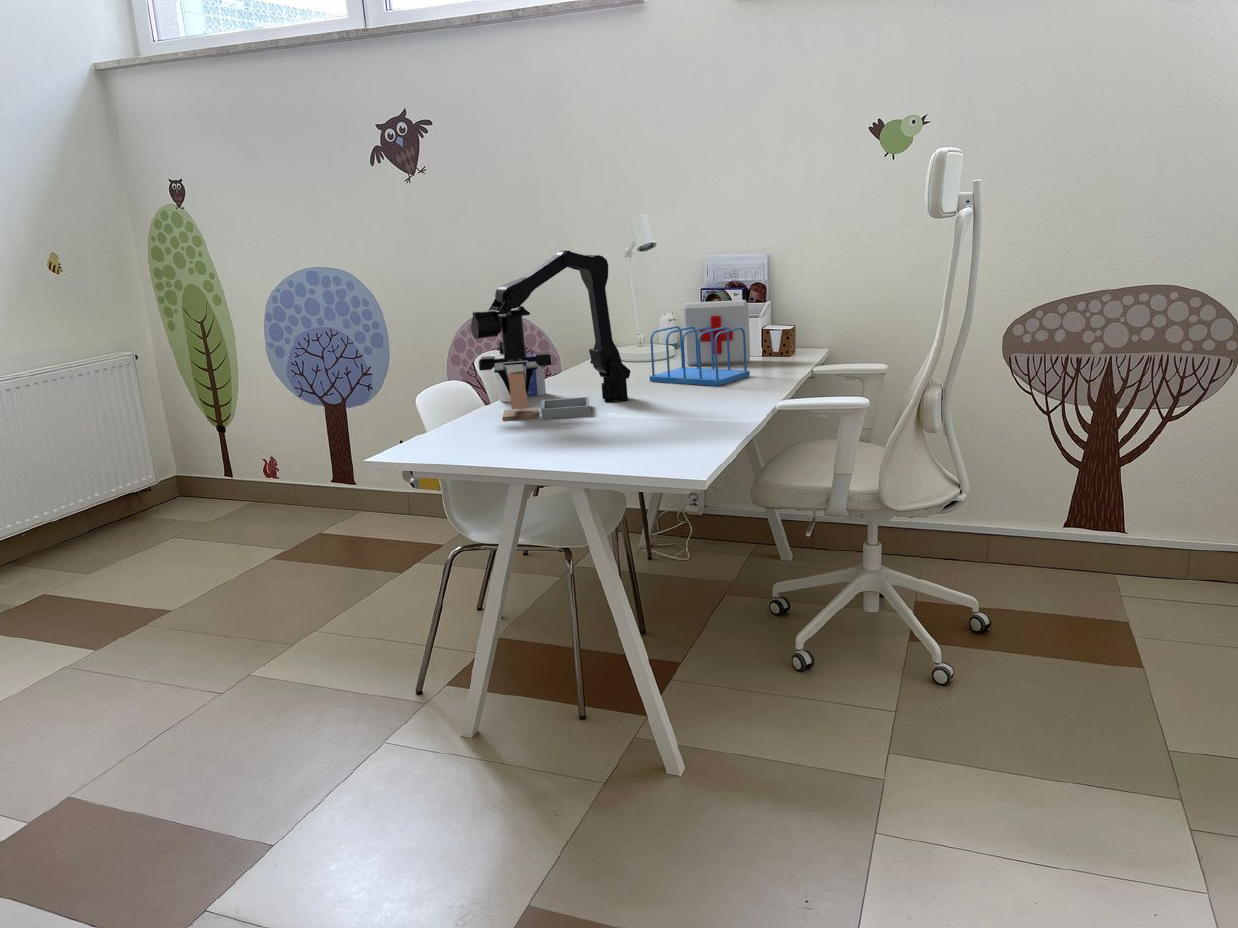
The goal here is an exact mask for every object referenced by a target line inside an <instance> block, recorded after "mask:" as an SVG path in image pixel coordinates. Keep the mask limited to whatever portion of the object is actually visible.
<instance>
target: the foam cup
mask: <svg viewBox="0 0 1238 928" xmlns="http://www.w3.org/2000/svg"><path fill="white" fill-rule="evenodd" d="M490 356H495V359H503V358H504V355H500V353H496V354H492V355H490ZM505 367H507V373H508V377H509V373H510V372H518V371H523V364H516V365H505ZM491 370H492V372H493V377H494V381H495V385H496V390H497V393H498V397H499V401H500V402H503V403H509V402H511V395H510V394H509V392H508V390H507V388H506V386H505V383H504V381H503V380H502V378H501V377H500V375H499V373H494V370H495V368H494V367H493V368H492V369H491Z"/></svg>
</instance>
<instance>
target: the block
mask: <svg viewBox="0 0 1238 928" xmlns="http://www.w3.org/2000/svg"><path fill="white" fill-rule="evenodd" d="M509 385H510V395H511V409H524V408H529V407H528V406H529V400H528V396H527V393H526V378H525V371H518V372H510V373H509Z"/></svg>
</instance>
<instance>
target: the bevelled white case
mask: <svg viewBox="0 0 1238 928" xmlns="http://www.w3.org/2000/svg"><path fill="white" fill-rule="evenodd" d="M749 307H750V306H749V302H747V300H746V299H737V300H718V301H697V302H696V301H695V302H686V303H685V304H684V305H683V307H682V308H681V310H682V311H681V312H682V325H683V326H682V327H683V328H687V327H695V328H696V329H699V328H703V327H710V328H711V329H716V328H721V327H726V328H727V329H728V330H730V329H734V328H739V327H741V328H743V329H744V331H745V341H746V364H747V363H748V362H749V361H750V359H751V346H750V345H751V344H750V343H751V340H750V338H751V337H750V313H749V312H750V311H749V310H750V309H749ZM691 330H694V329H693V328H691V329H686V330H682V331H683V332H682V333H683V334H684V333H685V332H687V331H691ZM708 330H709V329H703V330H699V331H697V338H699V335H700V334H701V333H702V332H704V331H708ZM722 331H726V330H725V329H721V330H717V331H713V345H714V366H716V364H715V337H716V335H717V333H719V332H722ZM729 348H730V365H738V364H739V365H740V364H743V365H744V345H743V333H742V330H741V329H739V330H734V331H730V332H729ZM700 351H701V366H712V350H711V332H709V333H705V334H703V335H702V336H701V339H700ZM684 353H685V365H687V367H692V366H697V359H696V339H695V332H691V333H687V334H686V335H685V338H684ZM698 360H699V354H698ZM717 360H718V366H719V365H728V351H727V333H722V334H720V335H719V336H718V338H717Z"/></svg>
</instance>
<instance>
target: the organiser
mask: <svg viewBox="0 0 1238 928" xmlns="http://www.w3.org/2000/svg"><path fill="white" fill-rule="evenodd" d="M589 399H590V398H589V396H584V397H583V396H580V397H569V398H568V397H567V398H556V399H555V398H554V399H542V400H541V406H540V407H541V408H540V415H541V420H549V419H561V418H562V419H563V418H575V417H586V416H587V417H588V416H591V408H590V400H589Z"/></svg>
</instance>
